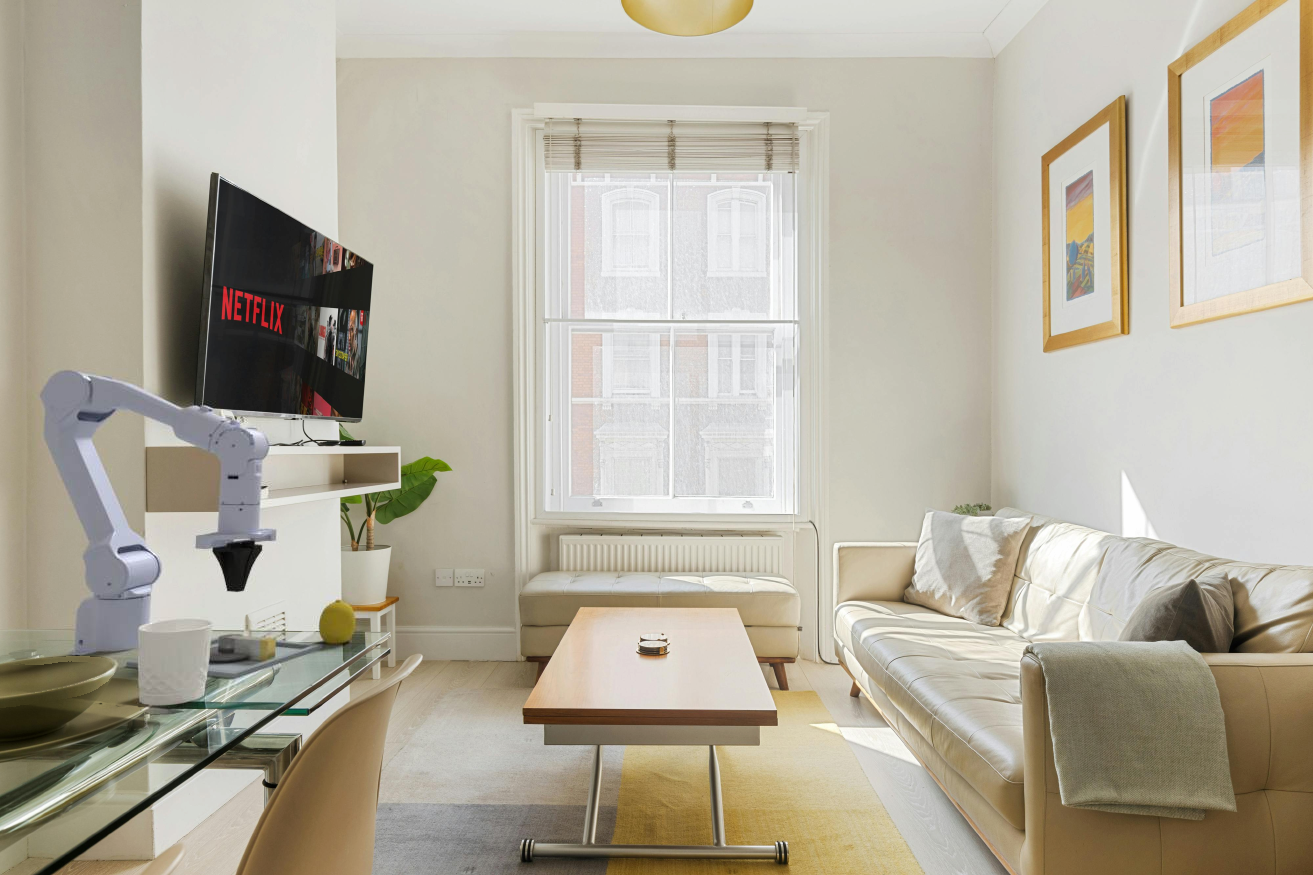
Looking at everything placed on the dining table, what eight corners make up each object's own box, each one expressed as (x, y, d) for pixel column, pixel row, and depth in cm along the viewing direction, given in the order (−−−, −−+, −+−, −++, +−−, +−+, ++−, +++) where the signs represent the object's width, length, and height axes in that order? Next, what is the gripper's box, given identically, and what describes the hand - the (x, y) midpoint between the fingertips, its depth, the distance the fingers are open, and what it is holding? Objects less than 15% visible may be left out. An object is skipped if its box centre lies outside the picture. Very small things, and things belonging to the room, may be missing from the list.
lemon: (360, 645, 130) (362, 597, 130) (343, 653, 124) (346, 603, 124) (328, 643, 130) (331, 595, 130) (311, 651, 125) (313, 601, 125)
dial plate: (125, 674, 109) (126, 661, 109) (225, 646, 126) (225, 635, 126) (234, 687, 104) (235, 673, 105) (321, 656, 122) (322, 644, 122)
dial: (185, 660, 112) (186, 639, 112) (226, 647, 120) (227, 628, 120) (251, 666, 110) (252, 645, 110) (289, 653, 118) (290, 633, 118)
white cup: (140, 700, 98) (144, 620, 98) (212, 694, 101) (216, 617, 102) (127, 719, 91) (132, 633, 91) (204, 712, 94) (209, 629, 94)
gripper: (225, 507, 114) (220, 600, 113) (293, 503, 128) (289, 585, 128) (185, 505, 116) (181, 596, 115) (257, 501, 130) (253, 583, 129)
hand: (235, 590), depth 121 cm, fingers closed
